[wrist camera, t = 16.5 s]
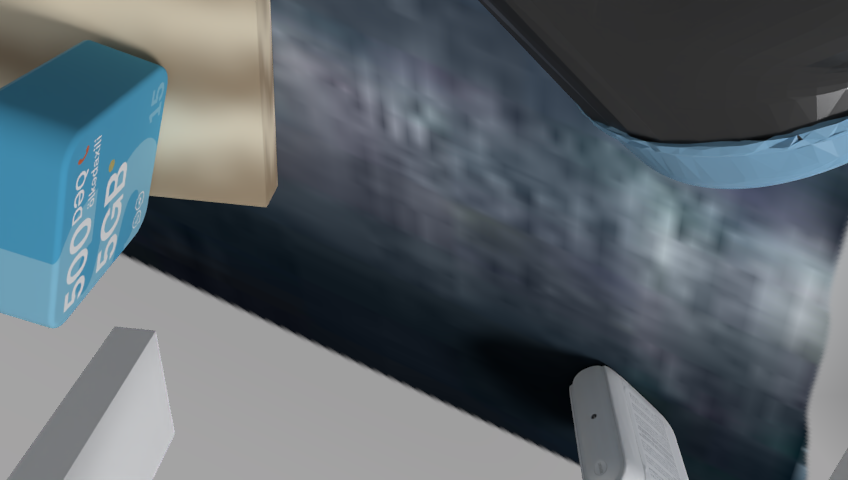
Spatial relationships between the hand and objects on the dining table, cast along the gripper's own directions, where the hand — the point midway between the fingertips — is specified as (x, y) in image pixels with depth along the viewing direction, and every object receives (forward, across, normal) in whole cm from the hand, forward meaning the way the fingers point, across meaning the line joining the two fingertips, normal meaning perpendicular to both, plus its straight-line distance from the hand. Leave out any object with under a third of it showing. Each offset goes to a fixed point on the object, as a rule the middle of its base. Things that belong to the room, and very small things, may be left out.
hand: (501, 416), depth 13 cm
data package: (+29, -22, -9) cm, 37 cm away
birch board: (+31, -21, -4) cm, 38 cm away
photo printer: (+32, +14, -30) cm, 46 cm away
